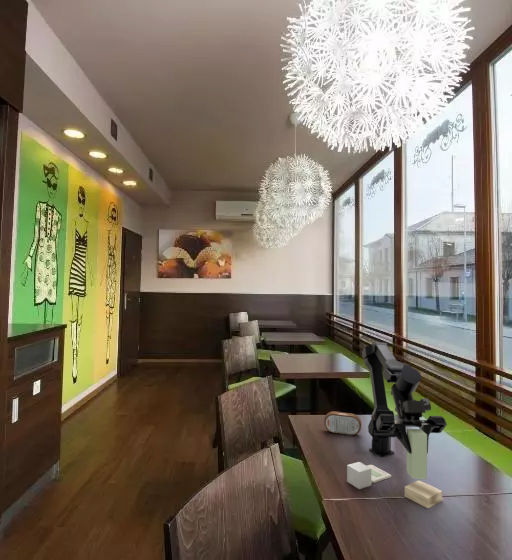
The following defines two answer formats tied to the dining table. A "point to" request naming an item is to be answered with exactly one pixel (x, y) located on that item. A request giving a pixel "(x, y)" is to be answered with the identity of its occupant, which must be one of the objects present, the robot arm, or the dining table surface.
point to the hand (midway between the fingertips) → (418, 453)
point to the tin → (342, 423)
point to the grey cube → (359, 475)
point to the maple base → (423, 494)
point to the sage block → (417, 454)
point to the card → (378, 474)
